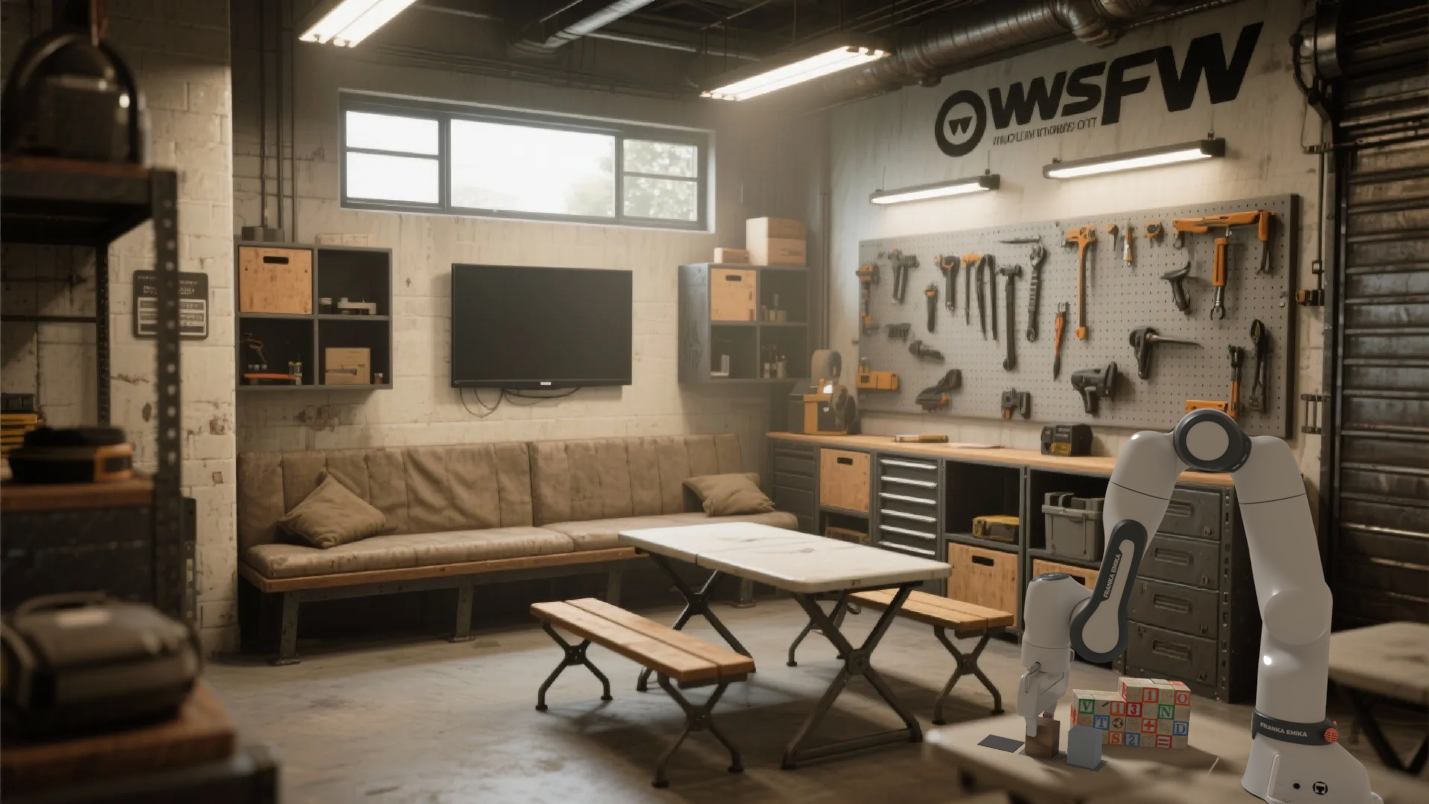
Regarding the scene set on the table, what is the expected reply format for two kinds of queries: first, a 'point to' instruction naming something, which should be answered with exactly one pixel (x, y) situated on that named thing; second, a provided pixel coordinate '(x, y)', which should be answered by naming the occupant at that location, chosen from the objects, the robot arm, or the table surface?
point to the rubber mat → (1001, 743)
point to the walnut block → (1044, 739)
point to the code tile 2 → (1086, 767)
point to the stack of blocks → (1136, 713)
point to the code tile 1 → (1042, 757)
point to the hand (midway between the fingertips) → (1040, 728)
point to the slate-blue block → (1084, 746)
